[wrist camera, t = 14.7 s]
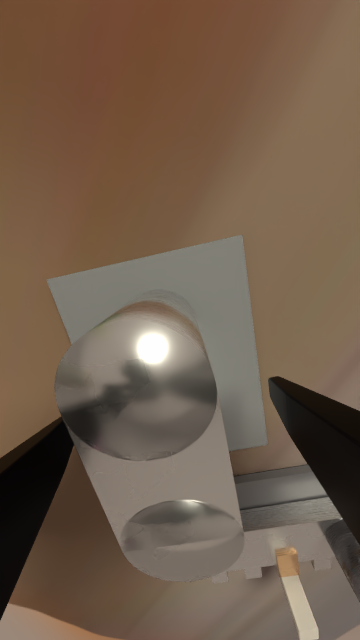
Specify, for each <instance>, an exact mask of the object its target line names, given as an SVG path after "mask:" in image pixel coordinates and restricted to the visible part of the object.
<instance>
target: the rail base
mask: <svg viewBox="0 0 360 640" xmlns="http://www.w3.org/2000/svg"><path fill="white" fill-rule="evenodd" d="M234 483H235V488H236V494H237V499H238V504H239V510H246V509H252V508H259V507H266V506H272V505H279V504H286V503H292V502H299V501H306V500H312V499H319V498H325V497H328V495H327V494H326V492H325V490H324V489H323V487H322V486H321V484H320V483H319V481H318V479H317V478H316V476H315V475H314V473H313V472H312V470H311V468H310V467H309V465H303V466H297V467H290V468H284V469H278V470H272V471H265V472H259V473H253V474H247V475H241V476H234ZM276 568H277V571H278V567H277V565H276ZM278 574H279V573H278ZM279 577H280V576H279ZM280 580H281V584H282V587H283V590H284V593H285V596H286V599H287V602H288V605H289V609H290V612H291V615H292V618H293V621H294V624H295V627H296V631H297V634H298V637H299V640H315V639H319V634H318V627H317V625H316V622H315V619H314V617H313V614H312V611H311V609H310V606H309V604H308V601H307V598H306V596H305V593H304V590H303V588H302V585H301V583H300V580H299V577H298V575H295V576H288V577H280Z"/></svg>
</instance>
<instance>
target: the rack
mask: <svg viewBox="0 0 360 640" xmlns="http://www.w3.org/2000/svg"><path fill="white" fill-rule="evenodd" d="M240 515H241V521H242V526H243V531H244V538H245V543H244V548H243V551H242V553H241V555H240V557H239V558H238V560H237V561H236V562H235V563H234V564H233V565H232V566H231V567H229V568H228V569H227V570H225V571H223V572H222V573H220V574H217V575H215V576H212V577H211V579H212V582H213V583H221V582H228V581H229V580H228V573H227V572H228V571H235V570H243V569H244V571H245V576H246V579H251V578H259V577H262V572H261V567H266V566H273V565H277V567H278V573H279V576H280V577H288V576H295V575H299V564H298V562H303V561H311V563H312V565H313V568H314V570H321V569H328V568H332V565H331V558H333V557H336V559H337V561H338V563H339V564H340V566H341V568H342V570H343V572H344V574H345V576H346V577H347V579H348V581H349V583H350V585H351V587H352V589H353V591H354V592H355V594H356V596H357V598H358V600H359V602H360V545H359V544H358V542H357V541H356V539H355V538H354V536H353V534H352V533H351V531H350V530H349V528H348V527H347V525H346V523H345V522H344V520H343V519H342V517H341V516H340V514H339V512H338V511H337V509H336V508H335V506H334V505H333V503H332V501H331V500H330V498H329V497H325V498H319V499H312V500H306V501H299V502H292V503H286V504H279V505H272V506H266V507H259V508H252V509H246V510H240Z"/></svg>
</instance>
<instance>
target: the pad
mask: <svg viewBox="0 0 360 640" xmlns="http://www.w3.org/2000/svg"><path fill="white" fill-rule="evenodd" d="M47 282H48V285H49V287H50V290H51V292H52V295H53V298H54V300H55V303H56V305H57V308H58V310H59V313H60V315H61V318H62V320H63V323H64V326H65V328H66V331H67V333H68V336H69V338H70V341H71V343H72V344H73V343H74V342H75V341H77V340H78V339H79V338H80V337H81V336H83V335H84V334H86V333H87V332H88V331H90V330H91V329H93V328H94V327H95V326H97V325H98V324H99V323H101V322H102V321H104V320H105V319H106V318H108V317H109V316H111V315H112V314H113V313H115V312H116V311H117V310H119V309H120V308H122V307H123V306H124V305H126V304H127V303H129V302H130V301H131V300H133V299H134V298H136V297H137V296H138V295H140V294H142V293H144V292H146V291H150V290H156V289H162V290H168V291H172V292H174V293H176V294H178V295H180V296H181V297H183V298H184V299H185V300H186V301H187V302H188V303H189V304H190V306H191V307H192V309H193V311H194V313H195V316H196V319H197V322H198V325H199V329H200V332H201V335H202V338H203V342H204V345H205V348H206V351H207V355H208V358H209V361H210V364H211V368H212V371H213V374H214V378H215V381H216V386H217V391H218V396H219V402H220V407H221V413H222V418H223V423H224V429H225V434H226V440H227V445H228V450H229V451H233V450H239V449H245V448H251V447H257V446H263V445H268V442H267V434H266V425H265V417H264V409H263V401H262V393H261V384H260V376H259V368H258V360H257V352H256V344H255V335H254V327H253V319H252V311H251V303H250V294H249V286H248V278H247V270H246V262H245V253H244V245H243V237H242V235H239V236H234V237H230V238H226V239H221V240H217V241H213V242H208V243H204V244H200V245H195V246H191V247H187V248H182V249H178V250H174V251H169V252H165V253H160V254H156V255H152V256H147V257H143V258H139V259H134V260H130V261H126V262H121V263H117V264H113V265H108V266H104V267H100V268H95V269H91V270H87V271H82V272H78V273H73V274H69V275H65V276H60V277H56V278H52V279H47Z"/></svg>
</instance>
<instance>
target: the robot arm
mask: <svg viewBox="0 0 360 640" xmlns="http://www.w3.org/2000/svg"><path fill="white" fill-rule="evenodd" d="M268 383H269V392H270V397H271V400H272V402H273V404H274V406H275V408H276V410H277V412H278V414H279V416H280V418H281V420H282V422H283V424H284V426H285V428H286V430H287V432H288V434H289V435H290V437H291V439H292V440H293V442H294V443H295V445H296V447H297V448H298V450H299V451H300V453H301V454H302V456H303V458H304V459H305V461H306V462H307V464H308V465H309V467H310V468H311V470H312V472H313V473H314V475H315V476H316V478H317V479H318V481H319V483H320V484H321V486H322V487H323V489H324V490H325V492H326V494H327V495H328V497H329V498H330V500H331V501H332V503H333V505H334V506H335V508H336V509H337V511H338V512H339V514H340V516H341V517H342V519H343V520H344V522H345V523H346V525H347V527H348V528H349V530H350V531H351V533H352V534H353V536H354V538H355V539H356V541H357V542H358V544H359V545H360V411H358V410H356V409H354V408H351V407H349V406H347V405H344V404H342V403H340V402H337V401H335V400H333V399H330V398H328V397H326V396H323V395H321V394H319V393H316V392H314V391H312V390H309V389H307V388H305V387H302V386H300V385H298V384H295V383H293V382H291V381H288V380H286V379H284V378H281V377H279V376H276V377H271V378H269V379H268ZM73 446H74V443H73V440H72V438H71V436H70V434H69V431H68V429H67V427H66V425H65V422H64V420H63V418H62V417H59V418H58V419H57V420H55V421H54V422H52V423H51V424H49V425H48V426H46V427H45V428H43V429H42V430H41V431H39V432H38V433H36V434H35V435H33V436H32V437H30V438H29V439H28V440H26V441H25V442H23V443H22V444H20V445H19V446H17V447H16V448H14V449H13V450H12V451H10V452H9V453H7V454H6V455H4V456H3V457H1V458H0V620H1V618H2V615H3V613H4V611H5V608H6V606H7V604H8V602H9V599H10V597H11V595H12V592H13V590H14V588H15V585H16V583H17V581H18V578H19V576H20V574H21V572H22V569H23V567H24V565H25V562H26V560H27V558H28V555H29V553H30V551H31V548H32V546H33V544H34V541H35V539H36V537H37V535H38V532H39V530H40V528H41V525H42V523H43V521H44V518H45V516H46V514H47V511H48V509H49V507H50V504H51V502H52V500H53V498H54V495H55V493H56V491H57V488H58V486H59V484H60V481H61V479H62V477H63V474H64V472H65V469H66V466H67V463H68V460H69V457H70V454H71V452H72V449H73Z"/></svg>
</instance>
